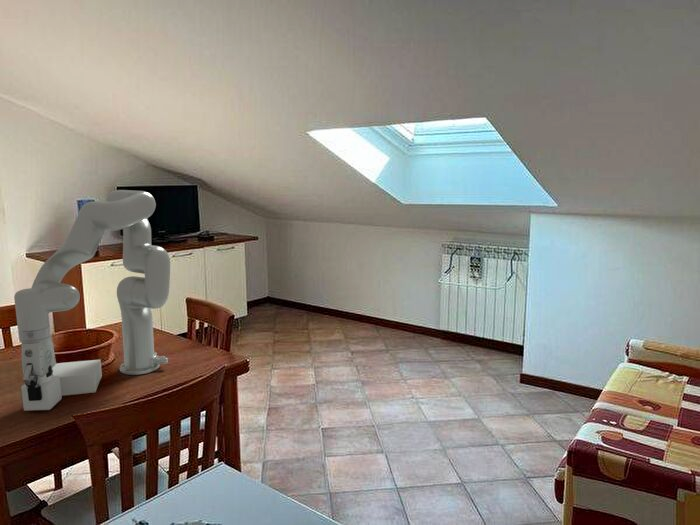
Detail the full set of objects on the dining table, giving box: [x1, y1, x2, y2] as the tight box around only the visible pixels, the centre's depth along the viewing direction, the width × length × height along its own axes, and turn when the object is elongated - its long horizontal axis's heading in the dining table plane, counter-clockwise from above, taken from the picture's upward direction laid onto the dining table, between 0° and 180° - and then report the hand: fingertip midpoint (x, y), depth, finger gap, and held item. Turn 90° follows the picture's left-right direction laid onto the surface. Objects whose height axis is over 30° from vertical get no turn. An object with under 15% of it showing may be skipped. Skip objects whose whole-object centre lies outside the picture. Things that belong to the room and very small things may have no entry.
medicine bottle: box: [20, 365, 63, 412], centre depth 145 cm, size 7×7×12 cm
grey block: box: [52, 359, 103, 396], centre depth 160 cm, size 13×13×6 cm
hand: (41, 393), depth 145 cm, fingers closed on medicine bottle, 7 cm apart
